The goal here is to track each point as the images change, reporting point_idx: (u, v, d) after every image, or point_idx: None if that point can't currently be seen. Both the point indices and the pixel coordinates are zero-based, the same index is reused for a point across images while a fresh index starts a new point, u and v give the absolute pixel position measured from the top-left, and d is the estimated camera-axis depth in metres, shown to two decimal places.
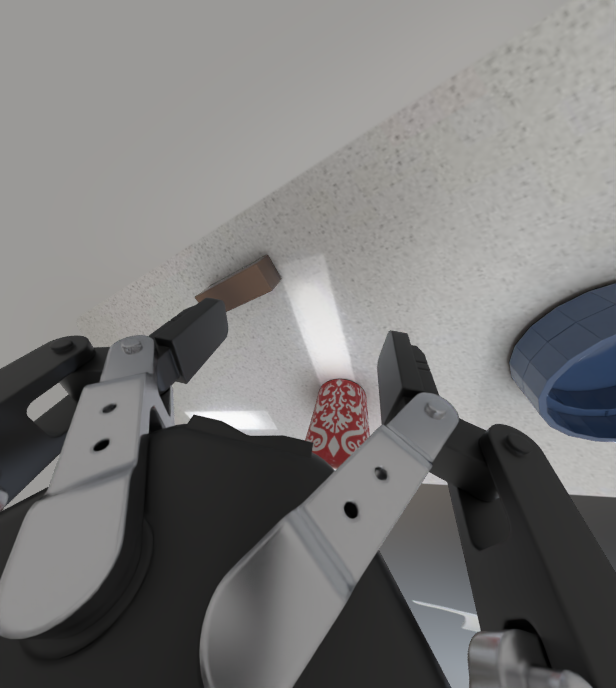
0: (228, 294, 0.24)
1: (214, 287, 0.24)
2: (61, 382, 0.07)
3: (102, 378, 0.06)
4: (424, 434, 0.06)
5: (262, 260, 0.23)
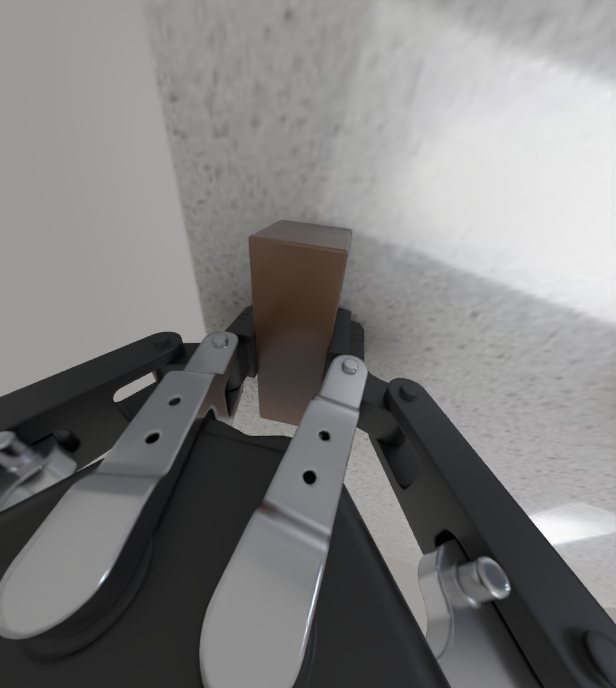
0: (288, 366, 0.09)
1: (259, 376, 0.10)
2: (157, 375, 0.08)
3: (187, 365, 0.07)
4: (347, 390, 0.07)
5: (269, 227, 0.08)
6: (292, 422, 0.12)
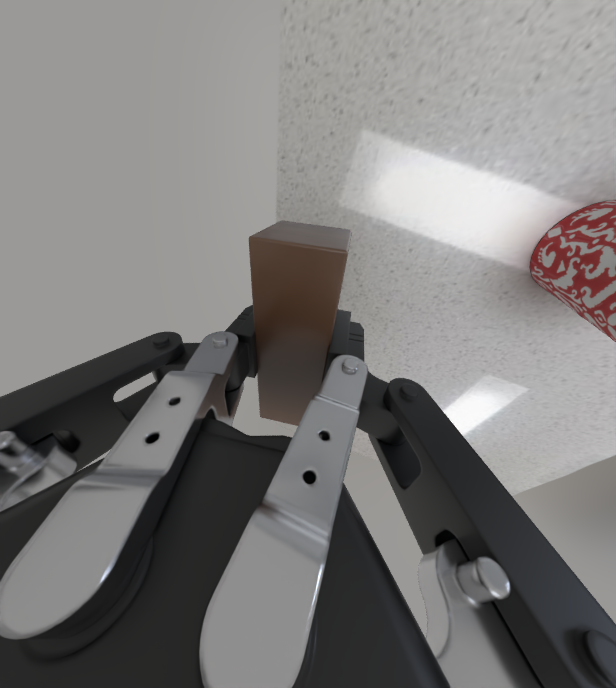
0: (288, 366, 0.09)
1: (259, 376, 0.10)
2: (157, 375, 0.08)
3: (187, 365, 0.07)
4: (347, 390, 0.07)
5: (269, 228, 0.08)
6: (292, 422, 0.12)
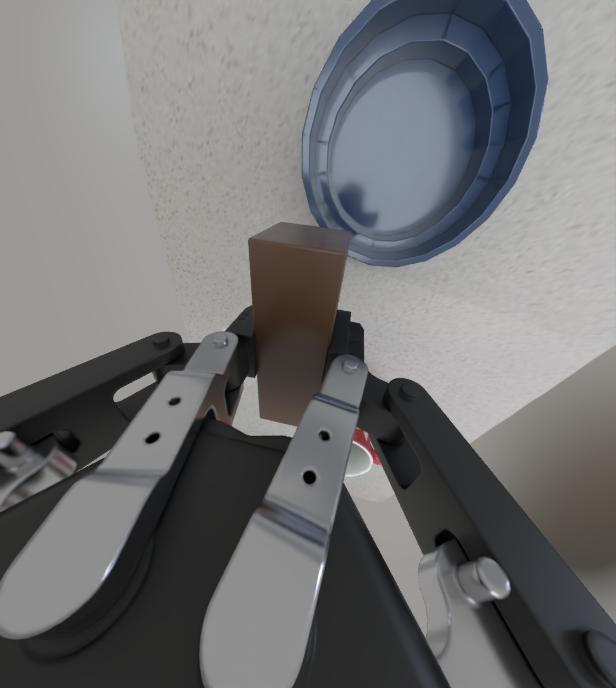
0: (287, 367, 0.09)
1: (259, 377, 0.10)
2: (157, 375, 0.08)
3: (187, 365, 0.07)
4: (347, 390, 0.07)
5: (269, 229, 0.08)
6: (292, 423, 0.12)
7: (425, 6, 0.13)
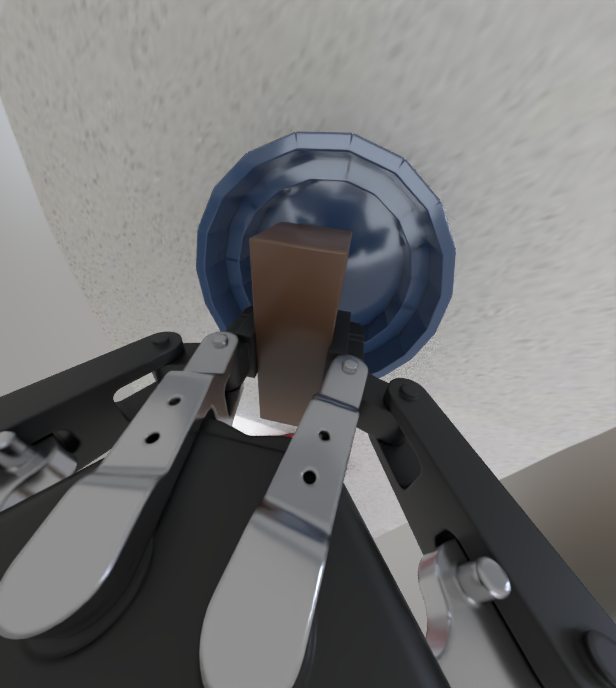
0: (288, 367, 0.09)
1: (259, 377, 0.10)
2: (157, 375, 0.08)
3: (187, 365, 0.07)
4: (347, 389, 0.07)
5: (269, 229, 0.08)
6: (292, 423, 0.12)
7: (315, 154, 0.11)
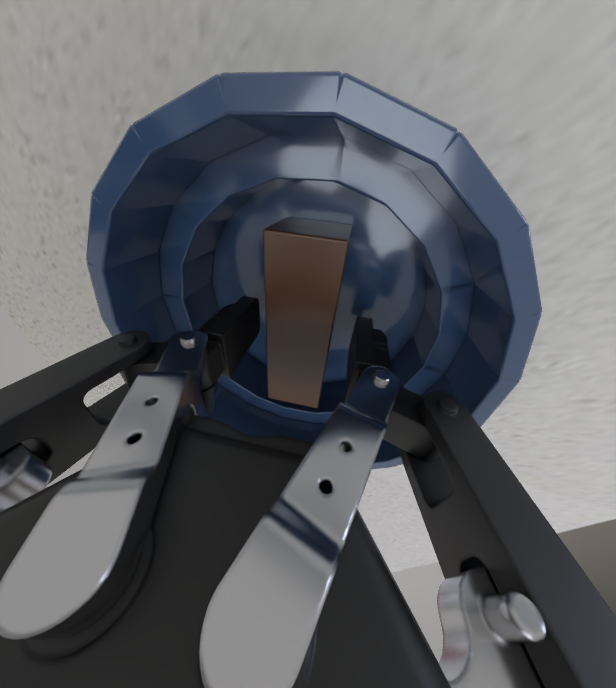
0: (295, 347, 0.11)
1: (268, 357, 0.11)
2: (124, 374, 0.08)
3: (157, 367, 0.07)
4: (375, 403, 0.06)
5: (279, 222, 0.09)
6: (297, 402, 0.13)
7: (277, 131, 0.06)
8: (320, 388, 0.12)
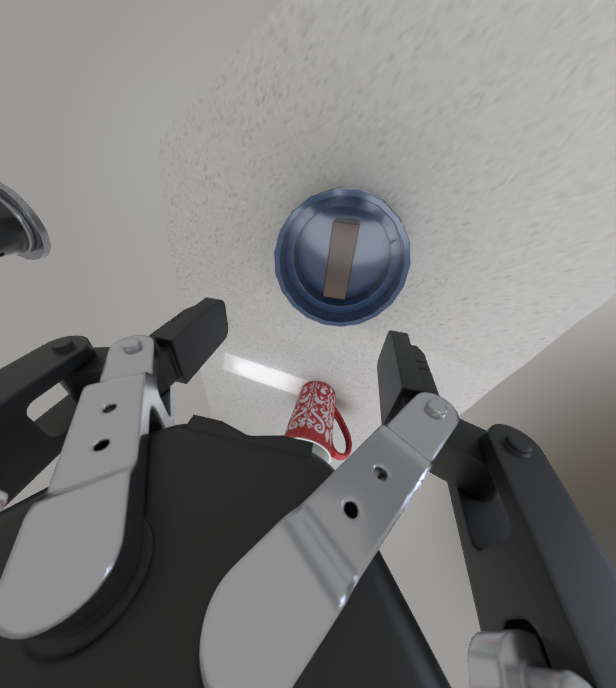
0: (338, 267, 0.28)
1: (326, 273, 0.28)
2: (61, 382, 0.07)
3: (102, 378, 0.06)
4: (424, 434, 0.06)
5: (335, 219, 0.26)
6: (336, 296, 0.30)
7: None
8: (347, 287, 0.29)
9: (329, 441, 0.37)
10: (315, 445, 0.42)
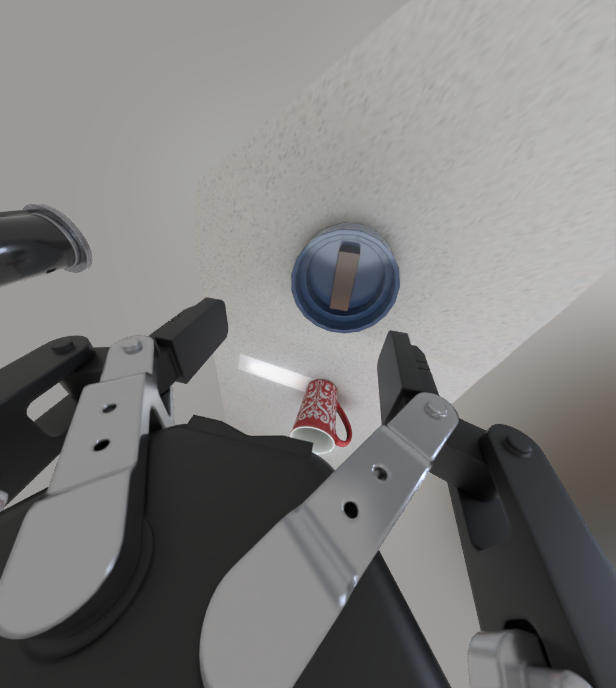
0: (342, 285, 0.34)
1: (333, 290, 0.35)
2: (61, 382, 0.07)
3: (102, 378, 0.06)
4: (423, 434, 0.06)
5: (340, 248, 0.32)
6: (340, 308, 0.36)
7: None
8: (349, 301, 0.35)
9: (333, 430, 0.43)
10: (320, 434, 0.48)
